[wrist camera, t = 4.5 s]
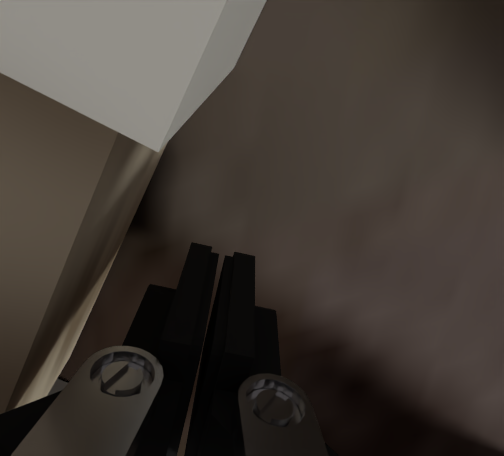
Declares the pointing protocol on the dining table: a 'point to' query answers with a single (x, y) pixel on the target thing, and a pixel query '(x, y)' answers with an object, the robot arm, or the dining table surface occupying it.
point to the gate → (56, 230)
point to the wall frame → (125, 58)
